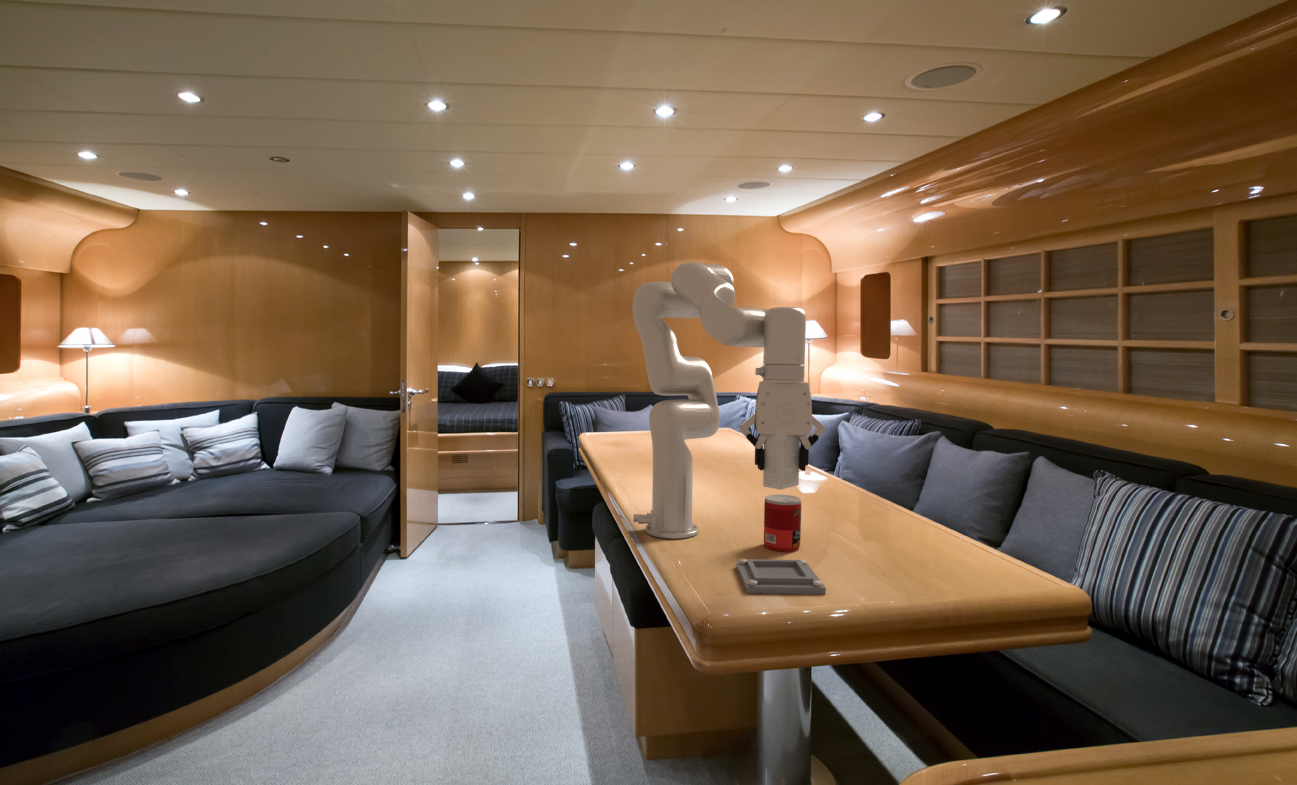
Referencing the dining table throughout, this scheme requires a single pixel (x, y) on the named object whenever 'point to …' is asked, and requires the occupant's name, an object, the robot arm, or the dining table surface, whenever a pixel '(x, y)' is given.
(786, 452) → the skincare box
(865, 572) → the dining table surface
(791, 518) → the canned food
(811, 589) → the plate
